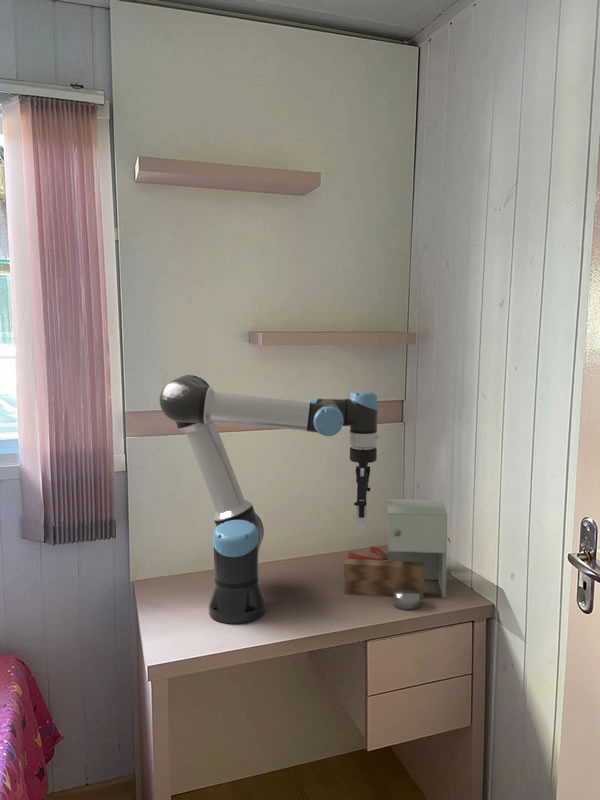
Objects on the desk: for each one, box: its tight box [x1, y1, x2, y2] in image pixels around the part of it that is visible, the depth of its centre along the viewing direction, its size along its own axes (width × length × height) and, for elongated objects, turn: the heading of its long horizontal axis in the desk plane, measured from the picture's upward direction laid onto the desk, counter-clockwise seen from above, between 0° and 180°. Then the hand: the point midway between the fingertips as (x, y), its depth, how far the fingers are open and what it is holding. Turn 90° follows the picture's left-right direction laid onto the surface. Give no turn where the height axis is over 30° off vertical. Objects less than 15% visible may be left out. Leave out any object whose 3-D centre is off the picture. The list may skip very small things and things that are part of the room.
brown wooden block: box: [343, 558, 425, 599], centre depth 183 cm, size 22×4×9 cm, turn 80°
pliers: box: [347, 546, 388, 561], centre depth 207 cm, size 12×20×3 cm, turn 32°
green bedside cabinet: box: [387, 498, 448, 599], centre depth 186 cm, size 16×16×24 cm
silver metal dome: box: [393, 586, 421, 612], centre depth 176 cm, size 7×7×4 cm
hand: (362, 520), depth 183 cm, fingers open, 13 cm apart
